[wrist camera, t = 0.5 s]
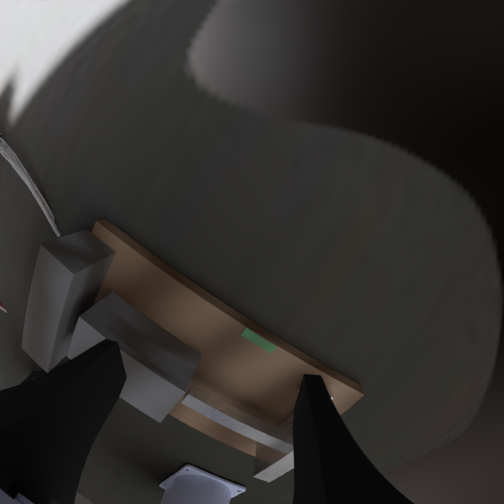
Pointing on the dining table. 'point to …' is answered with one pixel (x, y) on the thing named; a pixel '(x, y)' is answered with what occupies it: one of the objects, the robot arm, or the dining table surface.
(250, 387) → the frame
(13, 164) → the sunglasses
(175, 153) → the dining table surface
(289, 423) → the grey angular piece
